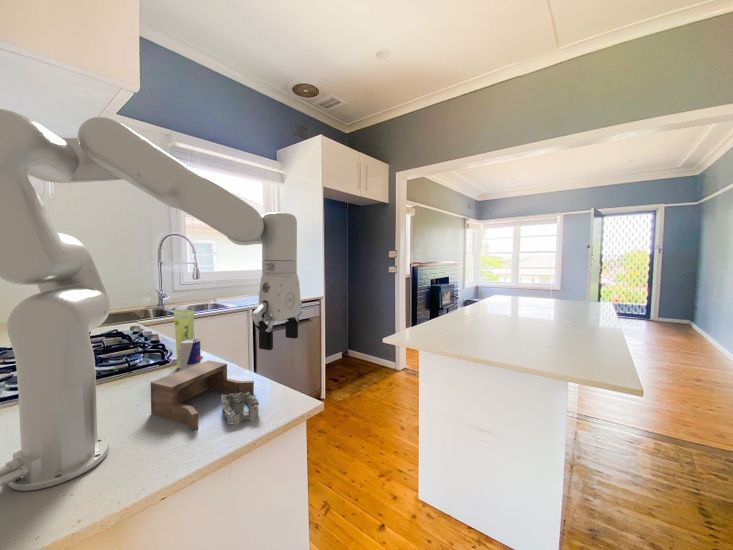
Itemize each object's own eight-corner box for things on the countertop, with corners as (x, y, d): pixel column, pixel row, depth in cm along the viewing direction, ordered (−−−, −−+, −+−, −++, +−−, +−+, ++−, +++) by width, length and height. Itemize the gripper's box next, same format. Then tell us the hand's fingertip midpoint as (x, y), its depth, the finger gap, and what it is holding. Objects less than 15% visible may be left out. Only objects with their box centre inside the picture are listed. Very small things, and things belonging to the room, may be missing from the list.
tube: (175, 370, 98) (174, 311, 97) (174, 365, 102) (173, 309, 101) (194, 367, 101) (194, 310, 100) (193, 362, 105) (192, 308, 104)
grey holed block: (260, 420, 70) (260, 403, 70) (225, 429, 66) (225, 411, 66) (251, 400, 79) (251, 385, 79) (220, 407, 76) (220, 392, 75)
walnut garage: (193, 430, 65) (193, 396, 64) (144, 416, 70) (143, 384, 70) (255, 393, 83) (255, 366, 83) (212, 384, 88) (212, 358, 88)
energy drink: (203, 379, 92) (202, 340, 91) (183, 384, 88) (183, 344, 87) (197, 374, 95) (196, 337, 95) (178, 379, 91) (177, 340, 91)
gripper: (269, 270, 58) (269, 357, 59) (313, 268, 74) (312, 335, 75) (238, 269, 60) (238, 352, 61) (287, 267, 77) (287, 332, 78)
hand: (279, 343), depth 68 cm, fingers open, 9 cm apart
